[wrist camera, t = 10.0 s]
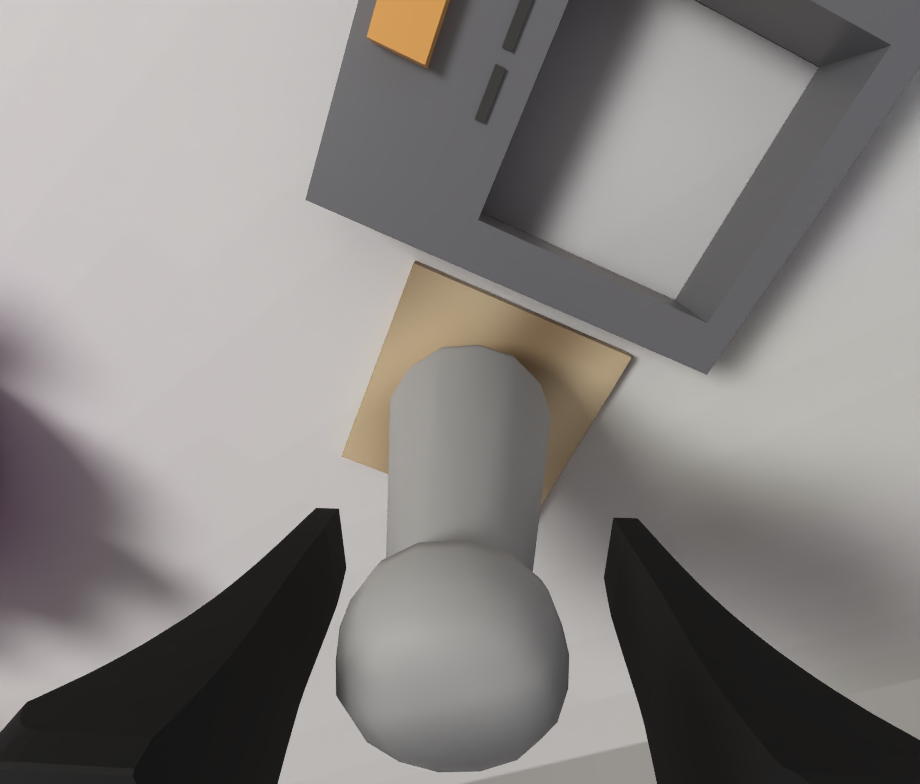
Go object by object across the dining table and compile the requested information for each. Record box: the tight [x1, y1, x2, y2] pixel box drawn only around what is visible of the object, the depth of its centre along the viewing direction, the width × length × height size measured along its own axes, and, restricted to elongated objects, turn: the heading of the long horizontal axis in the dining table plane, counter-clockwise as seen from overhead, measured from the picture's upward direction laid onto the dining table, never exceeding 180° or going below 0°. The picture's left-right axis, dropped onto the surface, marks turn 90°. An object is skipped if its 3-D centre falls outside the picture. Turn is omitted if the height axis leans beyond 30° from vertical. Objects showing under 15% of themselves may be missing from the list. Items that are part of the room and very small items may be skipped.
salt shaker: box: [336, 345, 569, 772], centre depth 14 cm, size 6×6×13 cm
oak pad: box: [342, 261, 632, 505], centre depth 21 cm, size 9×9×1 cm
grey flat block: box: [306, 0, 920, 374], centre depth 15 cm, size 14×11×4 cm
